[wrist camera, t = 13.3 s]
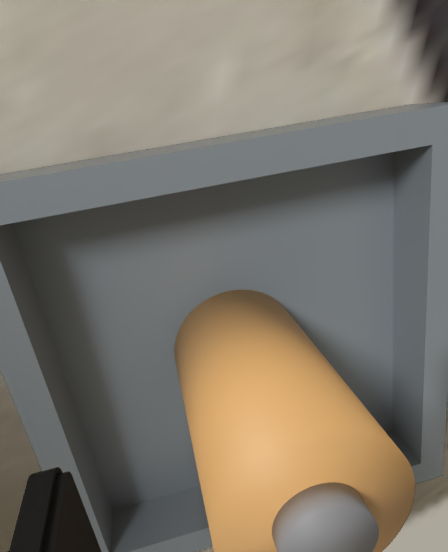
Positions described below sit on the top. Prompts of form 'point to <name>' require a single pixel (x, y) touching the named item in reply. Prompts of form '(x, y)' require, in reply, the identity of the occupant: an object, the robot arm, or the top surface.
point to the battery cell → (283, 436)
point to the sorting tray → (217, 279)
